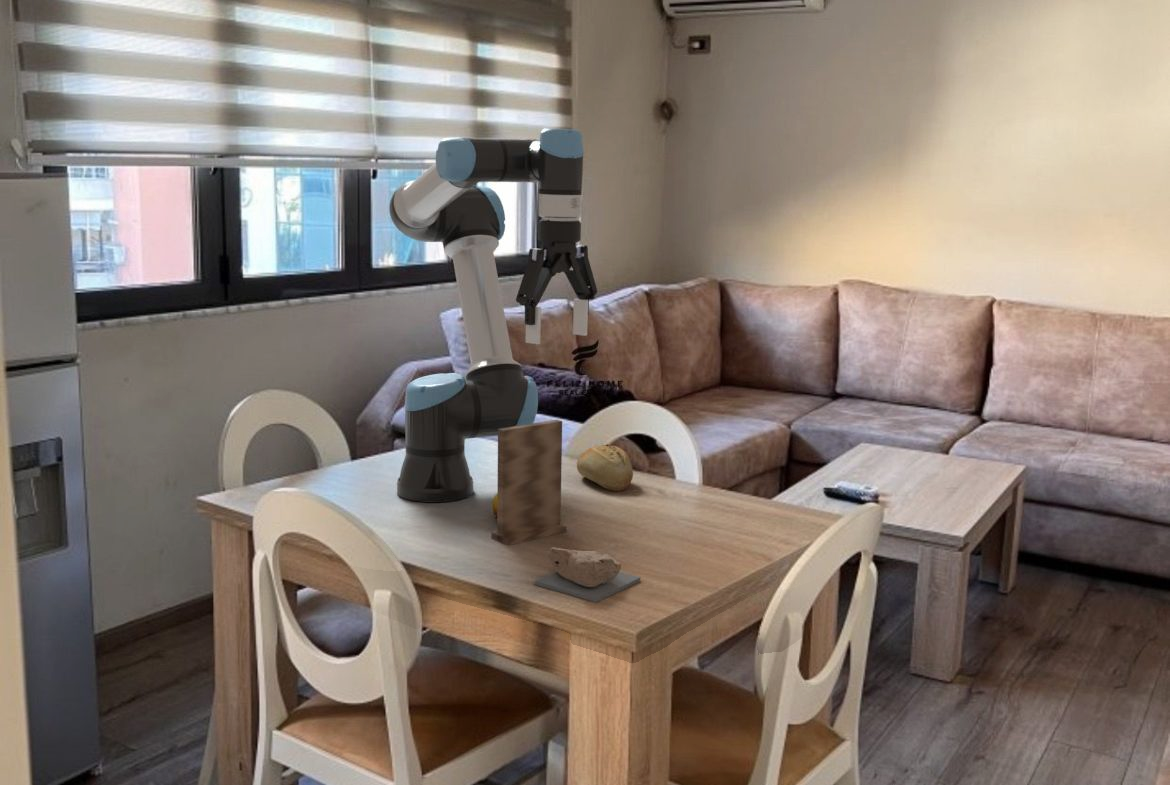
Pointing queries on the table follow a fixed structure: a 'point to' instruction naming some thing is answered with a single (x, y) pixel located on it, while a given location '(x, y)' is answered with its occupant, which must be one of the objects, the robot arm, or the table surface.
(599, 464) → the bread roll
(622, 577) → the pad
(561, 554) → the stone
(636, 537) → the table surface
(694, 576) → the table surface
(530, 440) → the board
